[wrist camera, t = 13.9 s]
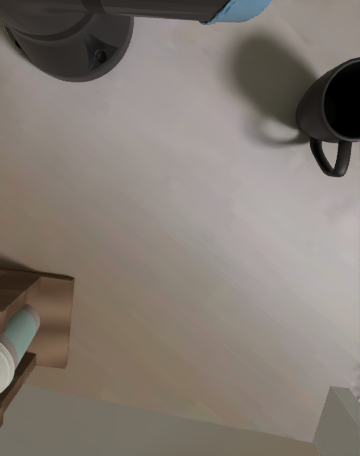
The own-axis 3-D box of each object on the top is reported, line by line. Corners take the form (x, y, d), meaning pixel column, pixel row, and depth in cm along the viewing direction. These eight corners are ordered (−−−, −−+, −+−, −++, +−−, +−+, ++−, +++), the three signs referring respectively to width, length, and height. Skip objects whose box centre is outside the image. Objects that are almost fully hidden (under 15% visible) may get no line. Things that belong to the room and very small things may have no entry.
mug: (274, 169, 41) (303, 172, 32) (292, 76, 38) (330, 50, 29) (331, 177, 41) (376, 182, 32) (353, 85, 39) (409, 62, 30)
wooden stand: (-22, 262, 43) (-93, 299, 32) (74, 275, 44) (39, 316, 32) (-23, 355, 47) (-87, 419, 35) (66, 366, 47) (32, 432, 36)
